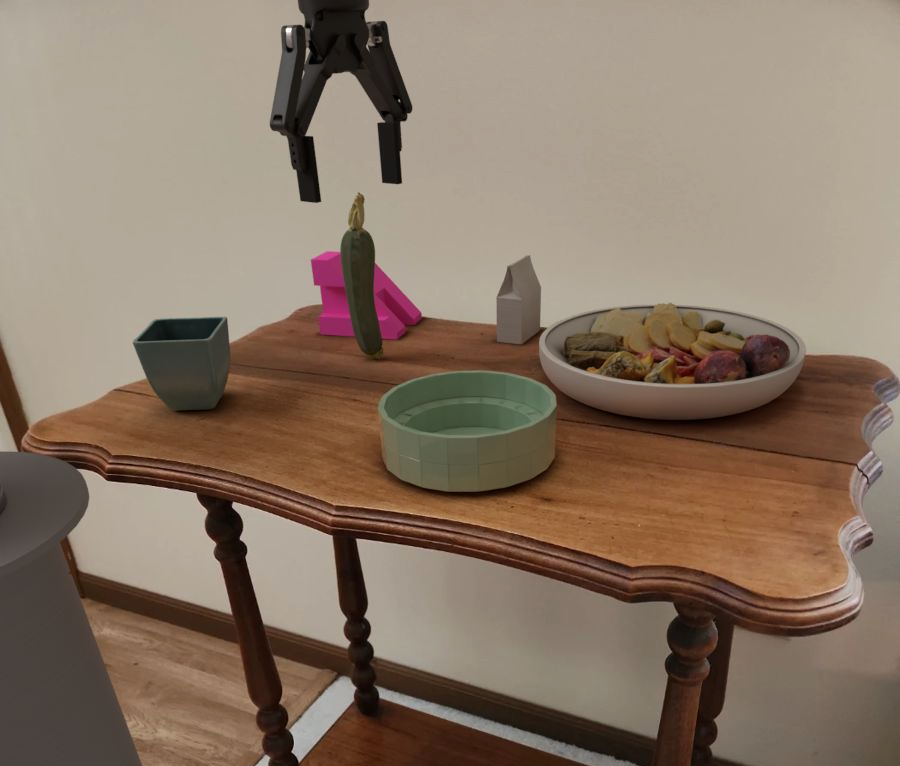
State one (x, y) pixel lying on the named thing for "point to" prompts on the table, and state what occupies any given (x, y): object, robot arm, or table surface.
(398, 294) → the bracket
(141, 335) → the flower pot
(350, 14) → the robot arm
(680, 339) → the bowl
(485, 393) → the mixing bowl
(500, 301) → the milk carton
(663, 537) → the table surface
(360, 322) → the vegetable
